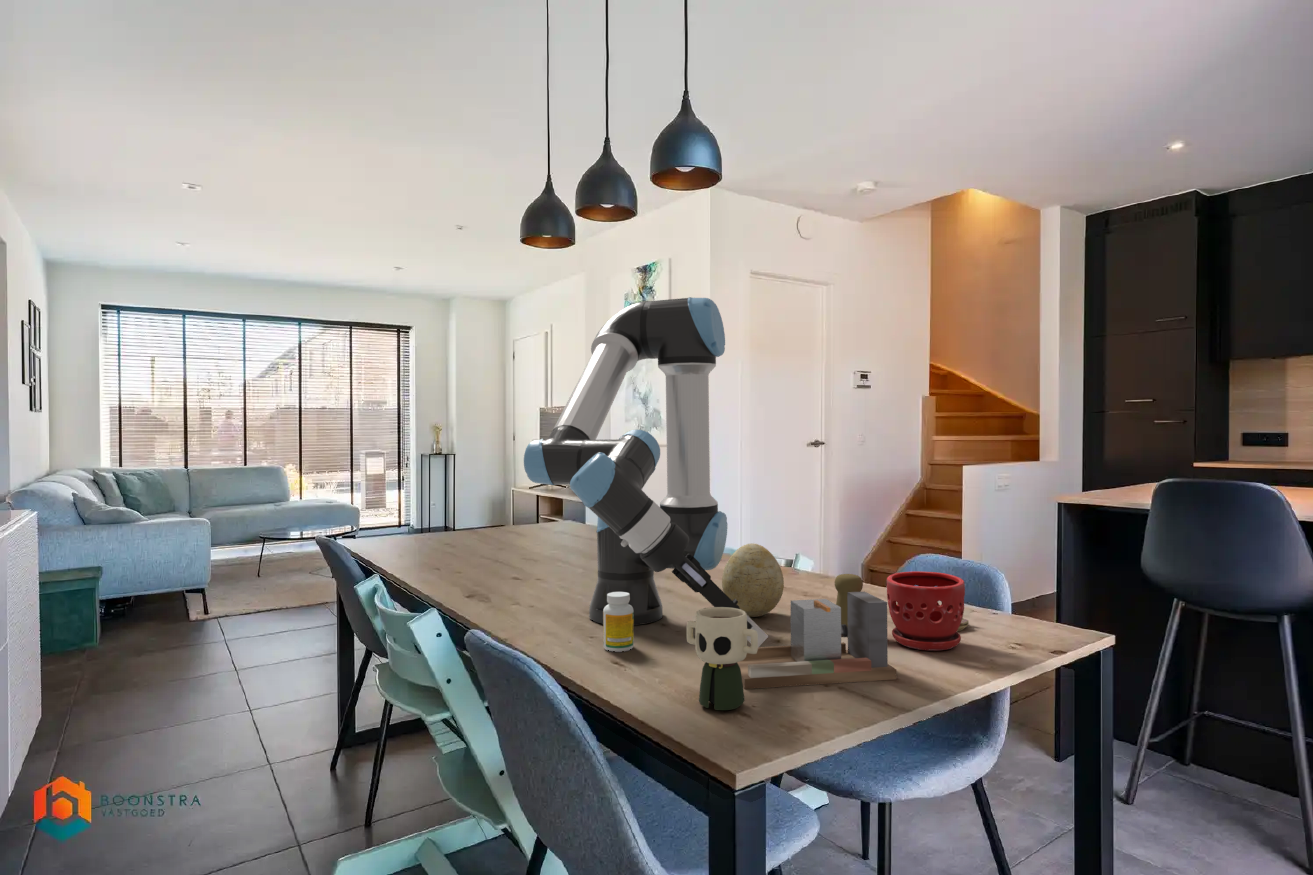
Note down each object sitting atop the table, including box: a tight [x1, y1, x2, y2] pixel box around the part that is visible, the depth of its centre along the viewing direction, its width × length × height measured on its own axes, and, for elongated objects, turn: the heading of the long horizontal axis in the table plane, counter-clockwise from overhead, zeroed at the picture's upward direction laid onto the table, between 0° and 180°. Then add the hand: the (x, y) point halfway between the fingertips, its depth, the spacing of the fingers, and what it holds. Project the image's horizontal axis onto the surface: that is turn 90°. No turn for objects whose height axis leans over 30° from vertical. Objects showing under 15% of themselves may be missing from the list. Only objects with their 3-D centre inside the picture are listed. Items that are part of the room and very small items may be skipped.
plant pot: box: [886, 570, 966, 652], centre depth 132 cm, size 13×13×12 cm
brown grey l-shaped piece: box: [737, 591, 897, 690], centre depth 117 cm, size 11×24×12 cm, turn 99°
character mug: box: [686, 606, 758, 711], centre depth 103 cm, size 11×7×13 cm, turn 58°
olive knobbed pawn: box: [834, 573, 864, 638], centre depth 140 cm, size 6×6×11 cm
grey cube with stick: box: [790, 598, 848, 662], centre depth 116 cm, size 8×8×10 cm
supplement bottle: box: [602, 592, 635, 653], centre depth 131 cm, size 5×5×10 cm
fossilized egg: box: [721, 542, 785, 618], centre depth 154 cm, size 13×13×15 cm
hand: (761, 641), depth 116 cm, fingers closed
